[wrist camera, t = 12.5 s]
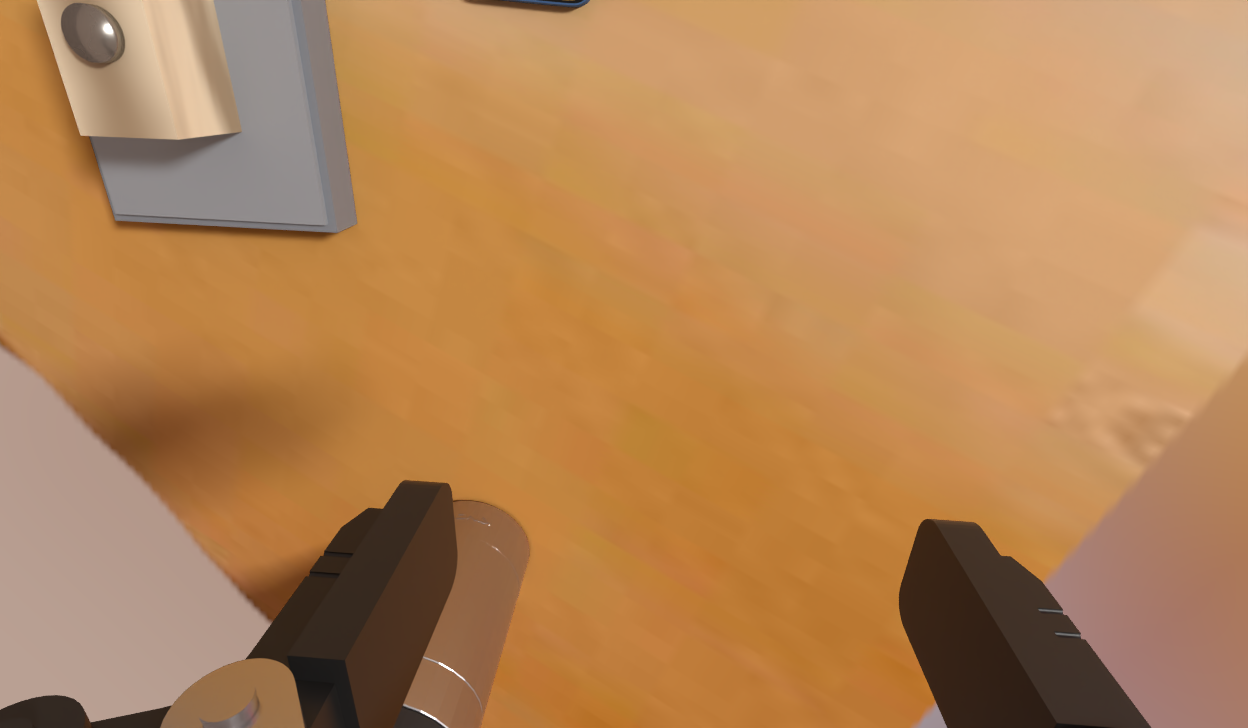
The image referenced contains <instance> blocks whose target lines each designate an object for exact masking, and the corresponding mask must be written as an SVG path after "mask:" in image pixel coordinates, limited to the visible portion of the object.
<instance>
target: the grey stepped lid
mask: <svg viewBox="0 0 1248 728" xmlns="http://www.w3.org/2000/svg"><path fill="white" fill-rule="evenodd" d="M214 5H215V10H216V14H217V19H218V23H219V28H220V33H221V37H222V42H223V46H224V51H225V56H226V60H227V65H228V69H229V74H230V78H231V83H232V88H233V92H234V97H235V101H236V106H237V111H238V115H239V120H240V124H241V129H242V132H237V133H228V134H220V135H212V136H204V137H196V138H188V139H179V140H175V139H150V138H126V137H102V136H89V137H90V140H91V144H92V147H93V150H94V153H95V156H96V160H97V163H98V166H99V169H100V173H101V176H102V179H103V182H104V185H105V189H106V192H107V195H108V198H109V201H110V205H111V208H112V211H113V214H114V217H115V221H134V222H152V223H170V224H188V225H206V226H224V227H242V228H260V229H278V230H297V231H315V232H333V233H338V232H340V231H343V230H345V229H347V228H349V227H351V226H353V225H355V224H357V218H356V211H355V204H354V197H353V191H352V184H351V177H350V170H349V163H348V156H347V149H346V142H345V135H344V128H343V121H342V115H341V108H340V101H339V94H338V87H337V80H336V73H335V66H334V59H333V52H332V45H331V39H330V32H329V25H328V18H327V11H326V4H325V0H214Z"/></svg>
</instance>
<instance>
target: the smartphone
mask: <svg viewBox="0 0 1248 728" xmlns="http://www.w3.org/2000/svg"><path fill="white" fill-rule="evenodd" d="M502 1H512V2H522V3H532V4H542V5H552V6H563V7H581V6H583V5H585V4H587V3H588V2H589V1H590V0H502Z"/></svg>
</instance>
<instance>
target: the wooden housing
mask: <svg viewBox="0 0 1248 728" xmlns="http://www.w3.org/2000/svg"><path fill="white" fill-rule="evenodd" d="M37 2H38V5H39V9H40V12H41V15H42V18H43V21H44V24H45V27H46V30H47V33H48V36H49V39H50V43H51V46H52V49H53V52H54V55H55V58H56V61H57V64H58V67H59V70H60V73H61V77H62V80H63V83H64V86H65V89H66V92H67V95H68V98H69V101H70V104H71V107H72V111H73V114H74V117H75V120H76V123H77V126H78V129H79V132H80V135H81V136H102V137H126V138H150V139H175V140H179V139H188V138H196V137H204V136H212V135H220V134H228V133H237V132H242V129H241V124H240V120H239V115H238V111H237V106H236V101H235V97H234V92H233V88H232V83H231V78H230V74H229V69H228V65H227V60H226V56H225V51H224V46H223V42H222V37H221V33H220V28H219V23H218V19H217V14H216V10H215V5H214V0H37Z"/></svg>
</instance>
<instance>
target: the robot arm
mask: <svg viewBox="0 0 1248 728" xmlns="http://www.w3.org/2000/svg"><path fill="white" fill-rule="evenodd" d="M528 559H529V544H528V540H527V537H526V535H525V533H524V531H523V530H522V528H521V527H520V526H519V524H518V523H517V522H516V521H515V520H514V519H513V518H512V517H510V516H509V515H508V514H506V513H505V512H503V511H502V510H500V509H498V508H496V507H494V506H491V505H488V504H485V503H481V502H475V501H455V502H453V499H452V491H451V488H450V486H449V484H447V483H437V482H423V481H409V480H404V481H402V482H401V483H400V484H399V486H398V487H397V489H396V490H395V492H394V493H393V495H392V496H391V498H390V499H389V501H388V502H387V504H386V505H385V507H384V508H383V509H377V508H368V509H366V510H365V511H363V512H362V513H361V514H359V515H358V516H357V517H355V518H354V519H352V520H351V521H350V522H348V523H347V524H346V525H344V526H343V527H342V528H341V529H340V530H339V532H338V533H337V534H336V536H335V537H334V539H333V540H332V541H331V543H330V544H329V545H328V547H327V548H326V550H325V551H324V556H320V558H319V559H318V561H317V562H316V563H315V565H314V566H313V567H312V569H311V570H310V575H309V577H307V576H306V577H305V579H304V580H303V581H302V583H301V584H300V585H299V587H298V588H297V590H296V591H295V592H294V594H293V595H292V596H291V598H290V599H289V601H288V602H287V603H286V605H285V606H284V607H283V609H282V610H281V612H280V613H279V614H278V616H277V617H276V618H275V620H274V621H273V623H272V624H271V625H270V627H269V628H268V630H267V631H266V632H265V634H264V635H263V636H262V638H261V639H260V641H259V642H258V643H257V645H256V646H255V648H254V649H253V650H252V652H251V653H250V654H249V656H248V657H247V658H246V659H245V660H242V661H237V662H235V663H231V664H228V665H226V666H223V667H221V668H219V669H217V670H215V671H213V672H211V673H209V674H208V675H206V676H204V677H203V678H201V679H200V680H198V681H197V682H196V683H194V684H193V685H192V686H190V687H189V688H188V689H187V690H186V691H185V692H184V693H183V694H182V695H181V696H180V697H179V698H178V699H177V700H176V701H175V702H174V704H173V705H172V706H168V707H164V708H160V709H155V710H150V711H145V712H140V713H135V714H131V715H126V716H121V717H116V718H111V719H106V720H101V721H96V722H91V723H90V721H89V719H88V717H87V715H86V713H85V711H84V709H83V707H82V706H81V704H80V703H79V702H77V701H76V700H75V699H72V698H69V697H66V696H58V695H55V696H42V697H36V698H32V699H28V700H25V701H21V702H18V703H15V704H13V705H10V706H8V707H5V708H3V709H1V710H0V728H480V727H481V724H482V720H483V716H484V713H485V709H486V706H487V702H488V699H489V695H490V692H491V688H492V685H493V681H494V678H495V674H496V671H497V667H498V664H499V660H500V657H501V653H502V650H503V646H504V643H505V640H506V636H507V633H508V629H509V626H510V622H511V619H512V615H513V612H514V608H515V605H516V601H517V598H518V595H519V592H520V588H521V584H522V581H523V577H524V574H525V570H526V567H527V563H528ZM899 609H900V616H901V620H902V624H903V626H904V629H905V631H906V634H907V636H908V638H909V641H910V643H911V645H912V647H913V650H914V652H915V654H916V657H917V659H918V661H919V664H920V666H921V668H922V671H923V673H924V675H925V677H926V680H927V682H928V684H929V687H930V689H931V691H932V694H933V696H934V698H935V701H936V703H937V705H938V707H939V710H940V712H941V714H942V716H943V719H944V721H945V724H946V725H947V728H1151V727H1150V725H1149V724H1148V723H1147V721H1146V720H1145V719H1144V717H1143V716H1142V715H1141V713H1140V712H1139V711H1138V709H1137V708H1136V707H1135V705H1134V704H1133V703H1132V701H1131V700H1130V699H1129V697H1128V696H1127V695H1126V693H1125V692H1124V691H1123V689H1122V688H1121V687H1120V685H1119V684H1118V683H1117V681H1116V680H1115V679H1114V677H1113V676H1112V675H1111V673H1110V672H1109V671H1108V669H1107V668H1106V667H1105V665H1104V664H1103V663H1102V661H1101V660H1100V659H1099V657H1098V656H1097V655H1096V653H1095V652H1094V651H1093V649H1092V648H1091V647H1090V645H1089V644H1088V643H1087V641H1086V640H1083V639H1081V637H1080V634H1081V633H1080V632H1079V630H1078V629H1077V628H1076V626H1075V625H1074V624H1073V622H1071V620H1070V619H1069V617H1068V616H1067V615H1063V609H1062V608H1061V606H1060V605H1059V604H1058V602H1057V601H1056V600H1055V598H1054V597H1053V596H1052V594H1051V593H1050V592H1049V590H1048V589H1047V588H1046V586H1045V585H1044V584H1043V582H1042V581H1041V580H1039V579H1038V578H1037V577H1036V576H1034V575H1033V574H1032V573H1031V572H1029V571H1028V570H1027V569H1026V568H1024V567H1023V566H1022V565H1021V564H1019V563H1018V562H1017V561H1016V560H1014V559H1013V558H1012V557H1010V556H1001V555H1000V554H999V553H998V551H997V550H996V548H995V547H994V545H993V544H992V543H991V541H990V540H989V538H988V537H987V536H986V534H985V533H984V531H983V530H982V529H981V527H980V526H979V525H977V524H976V523H974V522H963V521H949V520H935V519H925V520H924V521H923V522H922V523H921V524H920V526H919V528H918V531H917V534H916V538H915V541H914V544H913V547H912V551H911V554H910V557H909V560H908V564H907V567H906V570H905V573H904V577H903V580H902V583H901V587H900V592H899Z"/></svg>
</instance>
